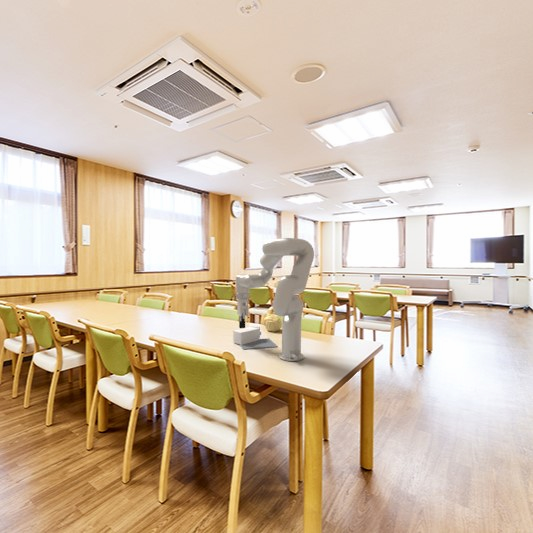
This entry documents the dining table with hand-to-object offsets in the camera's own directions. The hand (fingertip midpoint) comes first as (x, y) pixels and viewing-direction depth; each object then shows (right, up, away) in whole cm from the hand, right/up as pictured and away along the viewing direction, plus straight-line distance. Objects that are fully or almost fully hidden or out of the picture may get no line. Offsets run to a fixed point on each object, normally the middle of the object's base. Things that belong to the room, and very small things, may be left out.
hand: (242, 327), depth 176 cm
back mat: (+8, -10, +3) cm, 13 cm away
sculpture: (+18, -10, +37) cm, 42 cm away
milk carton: (-3, -6, +1) cm, 7 cm away
